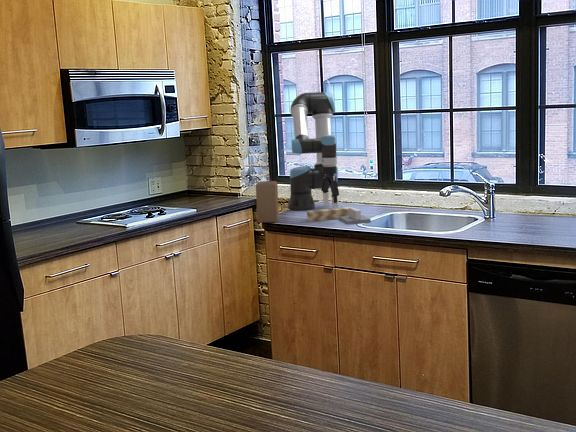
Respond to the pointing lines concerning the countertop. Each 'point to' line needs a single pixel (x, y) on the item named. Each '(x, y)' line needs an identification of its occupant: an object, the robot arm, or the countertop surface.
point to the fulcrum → (354, 217)
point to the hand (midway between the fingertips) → (330, 207)
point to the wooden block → (267, 201)
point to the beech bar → (327, 214)
